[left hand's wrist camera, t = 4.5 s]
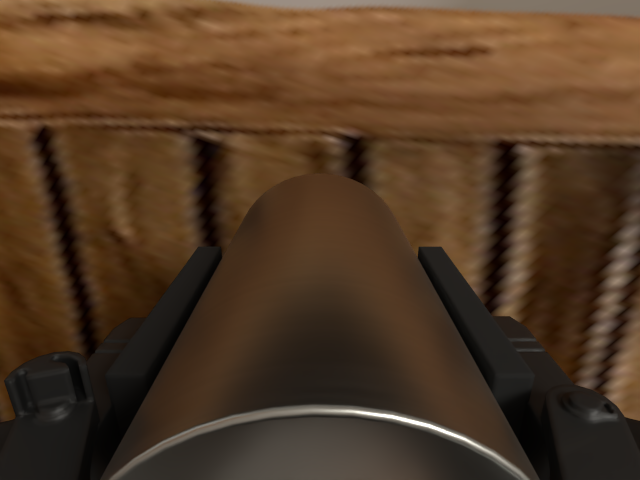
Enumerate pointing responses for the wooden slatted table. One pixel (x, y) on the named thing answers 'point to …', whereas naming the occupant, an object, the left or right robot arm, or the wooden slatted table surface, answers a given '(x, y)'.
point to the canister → (319, 360)
